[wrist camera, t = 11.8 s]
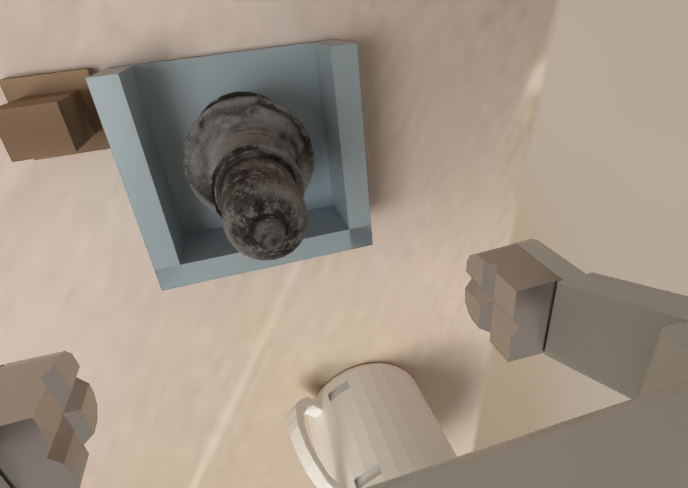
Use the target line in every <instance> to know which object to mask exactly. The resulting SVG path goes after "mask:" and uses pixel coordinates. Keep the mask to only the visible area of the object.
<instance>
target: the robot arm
mask: <svg viewBox="0 0 688 488" xmlns="http://www.w3.org/2000/svg"><path fill="white" fill-rule="evenodd" d="M466 272H467V273H468V274H469V275H470V276H471V277H472V279H471V280H470V282H469V283H468V285H467V286H466V288H465V302H466V306H467V310H468V313H469V315H470V316H471V318H472V320H473V321H474V323H475V324H476V325H477V326H478V328H480V329H483V330H485V331H488V332H490V342H491V343H492V344H493V345H494V347H495V348H496V349H497V350H498V351H499V352H500V354H501V355H502V356H503V357H504V358H505V359H506V361H507V362H510V361H513V360H517V359H521V358H525V357H529V356H532V355H536V354H540V353H544V352H545V353H544V354H545V355H547V356H549V357H550V358H553V359H555V360H556V361H558V362H561V363H562V364H564V365H566V366H568V367H570V368H572V369H574V370H576V371H578V372H580V373H582V374H584V375H586V376H588V377H590V378H592V379H594V380H596V381H598V382H600V383H601V384H604V385H605V386H608V387H609V388H611V389H613V390H616V391H617V392H619V393H621V394H623V395H625V396H627V397H629V398H631V400H628V401H625V402H622V403H619V404H616V405H613V406H610V407H607V408H604V409H601V410H598V411H595V412H592V413H589V414H586V415H583V416H580V417H577V418H573V419H570V420H568V421H565V422H561V423H558V424H555V425H552V426H549V427H546V428H544V429H540V430H537V431H534V432H531V433H528V434H525V435H522V436H519V437H516V438H513V439H510V440H507V441H504V442H501V443H498V444H495V445H492V446H489V447H486V448H483V449H480V450H477V451H474V452H471V453H468V454H465V455H462V456H459V457H456V458H453V459H450V460H447V461H444V462H441V463H438V464H435V465H432V466H429V467H426V468H423V469H420V470H417V471H414V472H411V473H407V474H404V475H401V476H398V477H395V478H392V479H389V480H386V481H383V482H380V483H377V484H374V485H371V486H368V487H365V488H688V296H684V295H680V294H676V293H672V292H668V291H664V290H660V289H656V288H652V287H648V286H644V285H640V284H636V283H632V282H628V281H624V280H620V279H617V278H613V277H608V276H604V275H600V274H596V273H588V274H585V273H584V272H582V271H581V270H580V269H578V268H577V267H575V266H574V265H573V264H571V263H570V262H568V261H567V260H565V259H564V258H563V257H561V256H560V255H558V254H557V253H555V252H554V251H552V250H551V249H550V248H548V247H547V246H545V245H544V244H542V243H541V242H539V241H538V240H534V239H528V240H525V241H521V242H517V243H514V244H511V245H508V246H504V247H500V248H496V249H492V250H488V251H484V252H480V253H476V254H472V255H469V258H468V260H467V267H466ZM79 367H80V366H79V364H78V363H77V361H76V359H75V358H74V356H73V355H72V353H69V352H66V351H63V352H58V353H53V354H49V355H44V356H40V357H35V358H31V359H26V360H21V361H17V362H12V363H8V364H6V365H0V488H80V485H81V481H82V477H83V474H84V470H85V466H86V462H87V459H88V455H89V453H88V452H87V450H86V448H85V447H84V444H85V443H86V441H87V440H88V439H89V438H90V437H91V436H92V435H93V434H94V432H95V428H96V424H97V402H96V398H95V395H94V392H93V390H92V388H91V386H90V384H89V383H87V382H85V381H83V380H81V379H79V378H77V377H76V376H77V373H78V370H79Z"/></svg>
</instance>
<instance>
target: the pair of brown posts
mask: <svg viewBox="0 0 688 488" xmlns="http://www.w3.org/2000/svg"><path fill="white" fill-rule="evenodd" d="M91 75H92V72H91V70H90V68H85V69H77V70H69V71H61V72H53V73H45V74H37V75H29V76H21V77H13V78H5V79H1V80H0V86H1V88H2V90H3V92H4V94H5V97H6V99H7V101H8V103H7V104H4V105H2V106H0V137H1V139H2V142H3V144H4V146H5V148H6V150H7V152H8V154H9V156H10V158H11V160H12V162H15V161H22V160H28V159H34V160H39V159H45V158H51V157H58V156H64V155H70V154H77V153H83V152H89V151H96V150H102V149H108V148H110V145H109V142H108V140H107V137H106V134H105V131H104V129H103V126H102V123H101V120H100V117H99V115H98V112H97V109H96V106H95V104H94V101H93V98H92V95H91V93H90V90H89V87H88V84H87V81H86V79H85V78H87V77H89V76H91Z"/></svg>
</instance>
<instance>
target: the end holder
mask: <svg viewBox="0 0 688 488" xmlns="http://www.w3.org/2000/svg"><path fill="white" fill-rule="evenodd" d="M85 79H86V81H87V84H88V87H89V90H90V93H91V95H92V98H93V101H94V104H95V106H96V109H97V112H98V115H99V117H100V120H101V123H102V126H103V129H104V131H105V134H106V137H107V140H108V142H109V145H110V148H111V151H112V153H113V156H114V159H115V162H116V165H117V167H118V170H119V173H120V176H121V178H122V181H123V184H124V187H125V190H126V192H127V195H128V198H129V201H130V203H131V206H132V209H133V212H134V214H135V217H136V220H137V223H138V226H139V228H140V231H141V234H142V237H143V239H144V242H145V245H146V248H147V251H148V253H149V256H150V259H151V262H152V264H153V267H154V270H155V273H156V275H157V278H158V281H159V284H160V287H161V289H162V291H163V290H167V289H172V288H176V287H181V286H186V285H190V284H195V283H199V282H204V281H208V280H213V279H218V278H222V277H227V276H231V275H236V274H241V273H245V272H250V271H254V270H259V269H263V268H268V267H273V266H277V265H282V264H286V263H291V262H295V261H300V260H305V259H309V258H314V257H318V256H323V255H327V254H332V253H337V252H341V251H346V250H350V249H355V248H359V247H364V246H369V245H372V232H371V219H370V205H369V192H368V179H367V166H366V153H365V139H364V126H363V113H362V100H361V87H360V73H359V60H358V47H357V43H354V42H348V41H342V40H336V39H334V40H326V41H318V42H310V43H302V44H294V45H286V46H278V47H270V48H262V49H254V50H246V51H239V52H231V53H223V54H215V55H207V56H199V57H191V58H183V59H175V60H167V61H159V62H151V63H144V64H136V65H128V66H120V67H112V68H106V69H104V70H102V71H100V72H97V73H95V74H93V75H91V76H89V77H87V78H85ZM233 92H252V93H256V94H259V95H263V96H265V97H267V98H268V99H270V100H272V101H275V102H277V103H278V104H280V105H282V106H283V107H285V108H287V109H288V110H290V111H291V112H292V113H293V114H294V115H295V116H296V117H297V119H298V120H299V121H300V122H301V123H302V124H303V126H304V128H305V130H306V131H307V133H308V135H309V137H310V140H311V144H312V148H313V152H314V170H313V173H312V177H311V180H310V184H309V186H308V187H307V189H306V191H305V196H304V201H305V204H306V207H307V211H308V227H307V231H306V234H305V237H304V239H303V240H302V242H301V244H300V245H299V246H298V247H297V248H296V249H295V250H294V251H293V252H291V253H290V254H288V255H286V256H285V257H282V258H279V259H276V260H267V261H262V260H256V259H252V258H250V257H247V256H245V255H243V254H242V253H240V252H239V251H238V250H236V249H235V248H234V246H233V245H232V244H231V242H230V241H229V240H228V238H227V236H226V234H225V231H224V229H223V223H222V218H221V217H220V216H219V215H218V214H217V213H215V212H213V211H212V210H211V209H209V208H208V207H207V206H206V205H204V204H203V203H202V202H201V201H200V200H199V198H198V197H197V196H196V195H195V193H194V192H193V191H192V189H191V187H190V185H189V183H188V180H187V178H186V175H185V172H184V164H183V151H184V145H185V139H186V137H187V135H188V133H189V131H190V129H191V127H192V125H193V123H194V122H195V121H196V120H197V119H198V117H199V116H200V114H201V112H202V111H203V110H204V109H205V108H206V107H207V106H208V105H209V104H210V103H211V102H212V101H214V100H216V99H217V98H219V97H221V96H222V95H226V94H229V93H233Z"/></svg>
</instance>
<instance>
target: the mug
mask: <svg viewBox="0 0 688 488" xmlns="http://www.w3.org/2000/svg"><path fill="white" fill-rule="evenodd" d="M304 413H305V414H307V415H309V424H310V430H311V434H312V438H313V442H314V446H315V450H316V453H315V451H314V448H313V446H312V444H311V442H310V439H309V437H308V434H307V431H306V428H305V423H304V415H303V414H304ZM287 422H288V431H289V436H290V439H291V441H292V443H293V446H294V448H295V450H296V452H297V455H298V457H299V459H300V461H301V463H302V465H303V467H304V469H305V471H306V472H307V474H308V475H309V477H310V478H311V480H312V481H313V483H314V484H315V486H316V487H317V488H365V487H368V486H371V485H374V484H377V483H380V482H383V481H386V480H389V479H392V478H395V477H398V476H401V475H404V474H407V473H411V472H414V471H417V470H420V469H423V468H426V467H429V466H432V465H435V464H438V463H441V462H444V461H447V460H450V459H453V458H456V457H457V456H456V454H455V452H454V450H453V449H452V447H451V445H450V443H449V442H448V440H447V438H446V436H445V434H444V433H443V431H442V429H441V427H440V425H439V424H438V422H437V420H436V418H435V416H434V415H433V413H432V411H431V409H430V408H429V406H428V404H427V402H426V400H425V399H424V397H423V395H422V393H421V391H420V390H419V388H418V386H417V384H416V383H415V381H414V379H413V378H412V376H411V375H409V374H408V373H407V372H406V371H404V370H402V369H400V368H398V367H396V366H394V365H390V364H386V363H369V364H363V365H359V366H355V367H353V368H350V369H348V370H346V371H343V372H342V373H340V374H338V375H337V376H335V377H334V378H332V379H331V380H330V381H329V382H328V383H326V384H325V386H324V387H323V388H322V389H321V390H320V391H319V393H318V394H317V396H316V398H315V399H314V400H313V399H311V398H309V397H306V398H304V399H301V400H300V401H298V403H297V404H296V405H295V406H294V407H293V408H292V410H291V411H290V412H289V413H288V414H287Z"/></svg>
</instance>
